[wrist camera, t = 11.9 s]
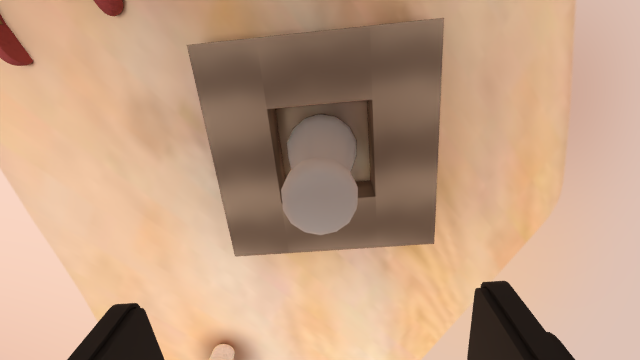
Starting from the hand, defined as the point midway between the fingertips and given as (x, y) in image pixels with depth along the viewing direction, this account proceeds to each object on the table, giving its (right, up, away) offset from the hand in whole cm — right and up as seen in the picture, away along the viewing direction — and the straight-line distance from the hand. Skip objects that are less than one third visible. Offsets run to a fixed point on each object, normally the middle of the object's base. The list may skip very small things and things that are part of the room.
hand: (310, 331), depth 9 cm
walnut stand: (+1, +8, +20) cm, 21 cm away
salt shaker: (0, +8, +20) cm, 21 cm away
